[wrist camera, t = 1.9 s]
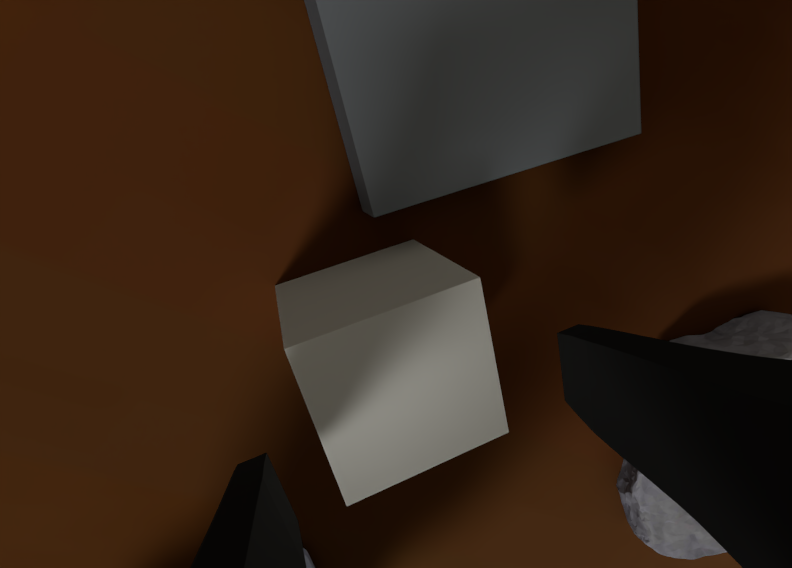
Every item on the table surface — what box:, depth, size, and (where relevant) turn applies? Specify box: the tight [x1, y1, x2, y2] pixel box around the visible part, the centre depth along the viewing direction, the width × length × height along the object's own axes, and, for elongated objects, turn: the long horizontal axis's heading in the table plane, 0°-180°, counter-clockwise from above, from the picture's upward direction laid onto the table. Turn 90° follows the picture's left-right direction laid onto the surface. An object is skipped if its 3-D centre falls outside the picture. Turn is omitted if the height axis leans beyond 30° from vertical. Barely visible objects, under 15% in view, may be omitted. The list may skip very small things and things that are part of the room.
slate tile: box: [304, 0, 641, 217], centre depth 13 cm, size 10×10×2 cm
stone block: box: [616, 310, 792, 559], centre depth 22 cm, size 12×5×10 cm
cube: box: [275, 239, 509, 506], centre depth 13 cm, size 5×5×5 cm
